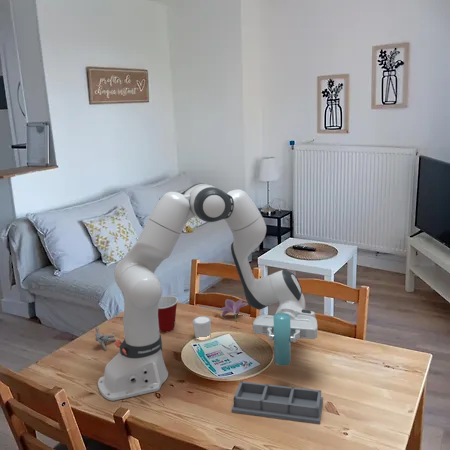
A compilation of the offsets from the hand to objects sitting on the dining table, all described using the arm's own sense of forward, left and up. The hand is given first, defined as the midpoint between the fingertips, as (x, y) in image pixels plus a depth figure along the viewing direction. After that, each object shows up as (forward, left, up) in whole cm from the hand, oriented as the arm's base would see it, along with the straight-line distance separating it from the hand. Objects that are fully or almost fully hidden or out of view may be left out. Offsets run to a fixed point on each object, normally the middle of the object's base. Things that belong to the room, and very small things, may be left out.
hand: (281, 339), depth 149 cm
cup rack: (-6, -7, -17) cm, 19 cm away
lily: (+12, +50, -17) cm, 54 cm away
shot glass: (-5, +43, -17) cm, 47 cm away
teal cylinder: (+1, +1, -8) cm, 8 cm away
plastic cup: (-14, +57, -17) cm, 62 cm away
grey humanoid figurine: (-39, +59, -17) cm, 72 cm away
